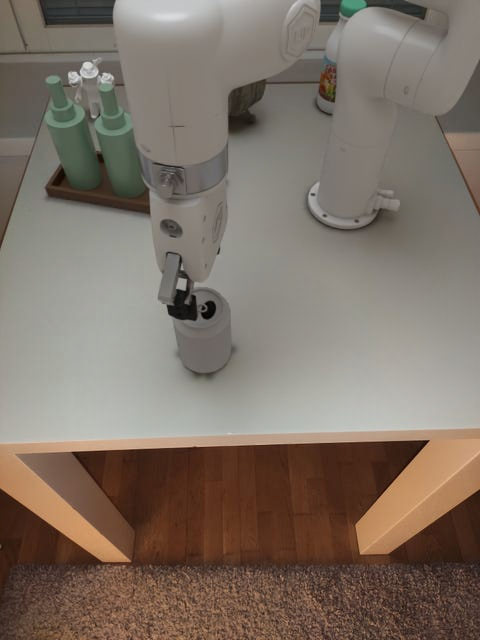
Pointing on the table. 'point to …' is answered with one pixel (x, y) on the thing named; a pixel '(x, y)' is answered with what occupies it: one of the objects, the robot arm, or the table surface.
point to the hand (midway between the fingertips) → (195, 282)
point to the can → (205, 333)
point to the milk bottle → (334, 56)
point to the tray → (96, 192)
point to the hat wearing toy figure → (90, 84)
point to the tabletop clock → (245, 98)
